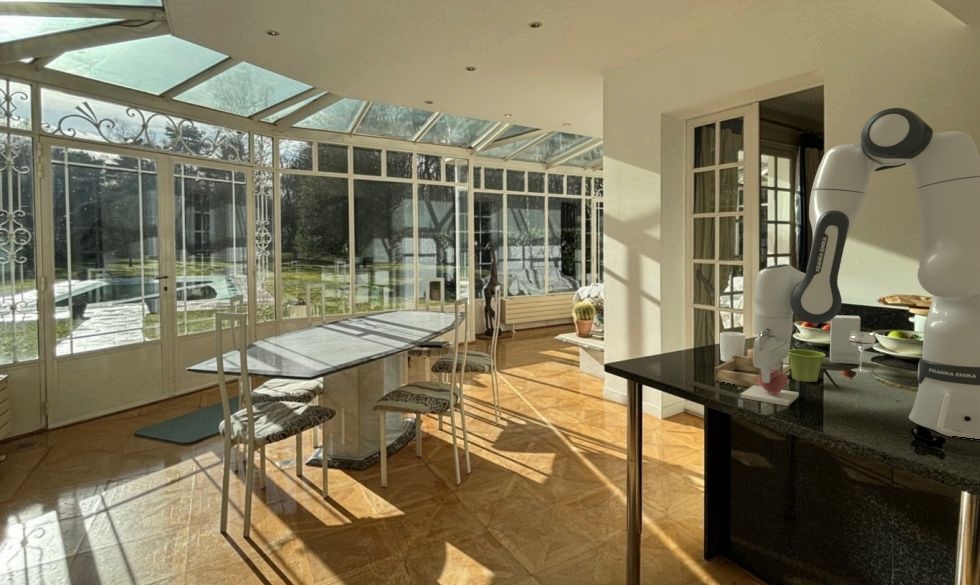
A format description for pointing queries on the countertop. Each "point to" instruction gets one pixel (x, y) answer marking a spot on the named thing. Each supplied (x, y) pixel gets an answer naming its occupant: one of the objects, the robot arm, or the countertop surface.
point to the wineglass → (861, 344)
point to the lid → (786, 367)
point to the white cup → (731, 345)
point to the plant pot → (805, 364)
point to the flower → (773, 382)
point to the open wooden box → (742, 363)
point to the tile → (770, 395)
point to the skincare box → (843, 339)
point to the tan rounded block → (750, 352)
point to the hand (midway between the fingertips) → (770, 379)
